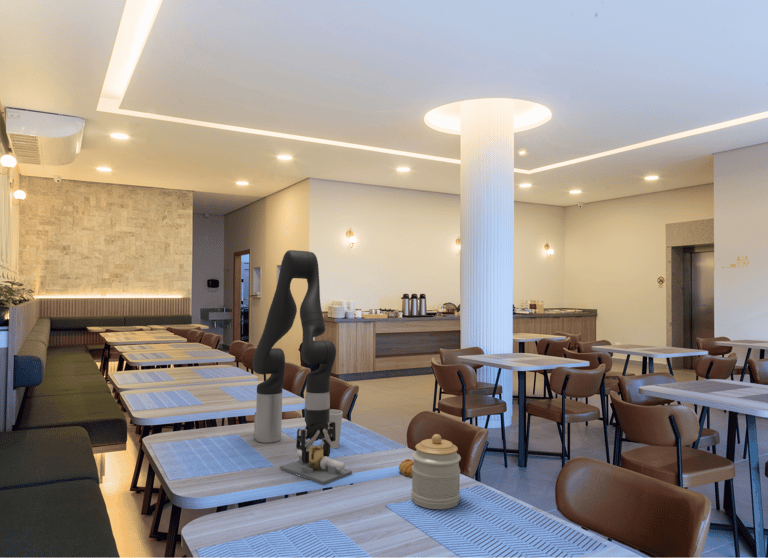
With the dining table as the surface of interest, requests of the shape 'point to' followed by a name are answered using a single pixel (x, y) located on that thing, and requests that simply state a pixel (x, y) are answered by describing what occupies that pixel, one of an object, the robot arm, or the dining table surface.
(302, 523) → the dining table surface
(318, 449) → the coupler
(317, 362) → the robot arm
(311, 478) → the shaft rig
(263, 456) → the dining table surface
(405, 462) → the pastry
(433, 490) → the jar
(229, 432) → the dining table surface
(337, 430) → the cup
